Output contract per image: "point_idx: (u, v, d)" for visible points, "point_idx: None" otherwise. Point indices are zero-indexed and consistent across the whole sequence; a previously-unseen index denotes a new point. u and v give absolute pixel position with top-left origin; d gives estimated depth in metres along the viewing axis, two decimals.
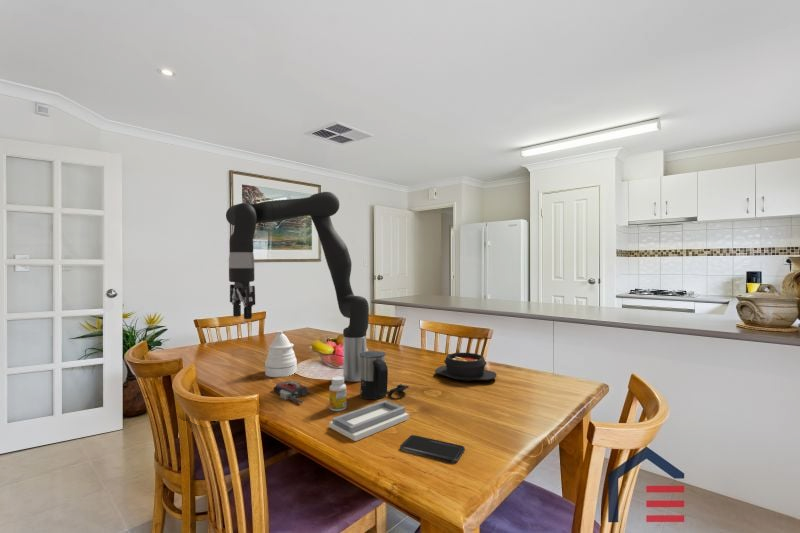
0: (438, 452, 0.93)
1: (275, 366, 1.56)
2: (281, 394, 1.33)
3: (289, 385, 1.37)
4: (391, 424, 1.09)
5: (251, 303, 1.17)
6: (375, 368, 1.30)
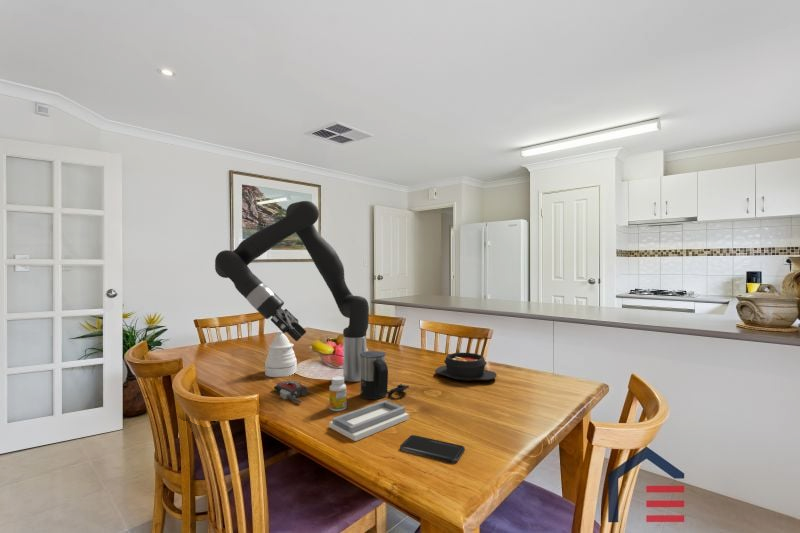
0: (438, 452, 0.93)
1: (275, 366, 1.56)
2: (281, 394, 1.33)
3: (289, 385, 1.38)
4: (391, 424, 1.09)
5: (285, 329, 1.15)
6: (375, 368, 1.30)
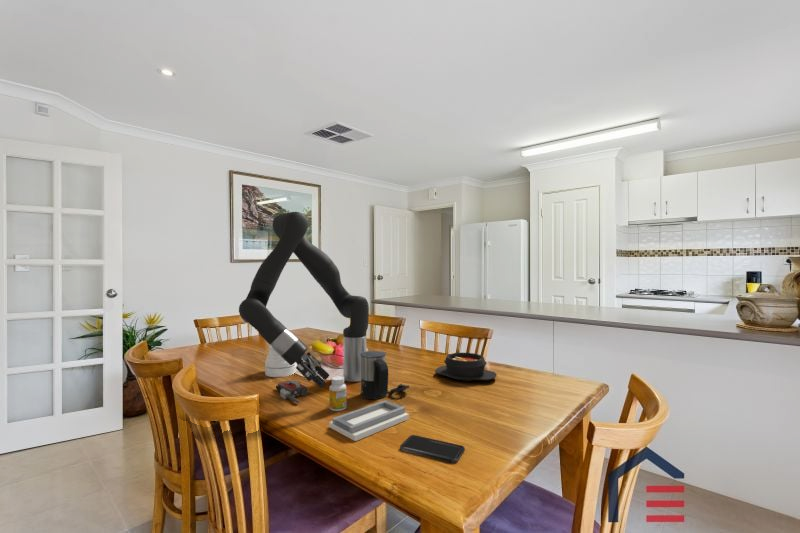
0: (438, 452, 0.93)
1: (275, 366, 1.56)
2: (281, 393, 1.33)
3: (290, 384, 1.38)
4: (391, 424, 1.09)
5: (311, 377, 1.15)
6: (376, 368, 1.30)
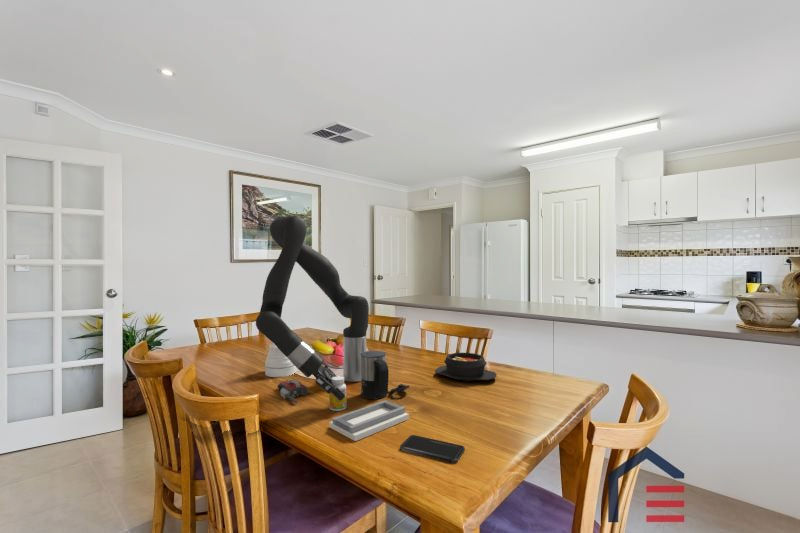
0: (438, 452, 0.93)
1: (275, 366, 1.56)
2: (281, 392, 1.34)
3: (291, 384, 1.38)
4: (391, 424, 1.09)
5: (331, 390, 1.17)
6: (376, 368, 1.30)
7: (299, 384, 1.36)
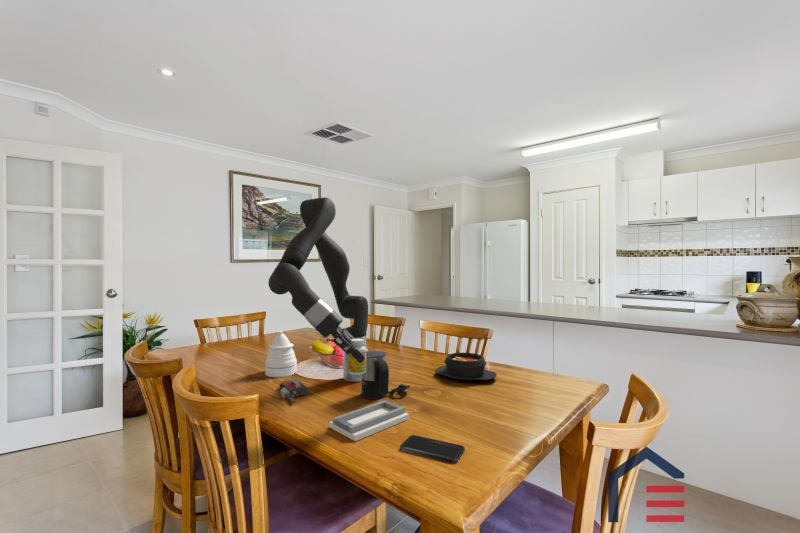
0: (438, 452, 0.93)
1: (275, 366, 1.56)
2: (281, 392, 1.34)
3: (292, 384, 1.39)
4: (391, 424, 1.09)
5: (350, 351, 1.08)
6: (376, 368, 1.31)
7: (299, 384, 1.36)
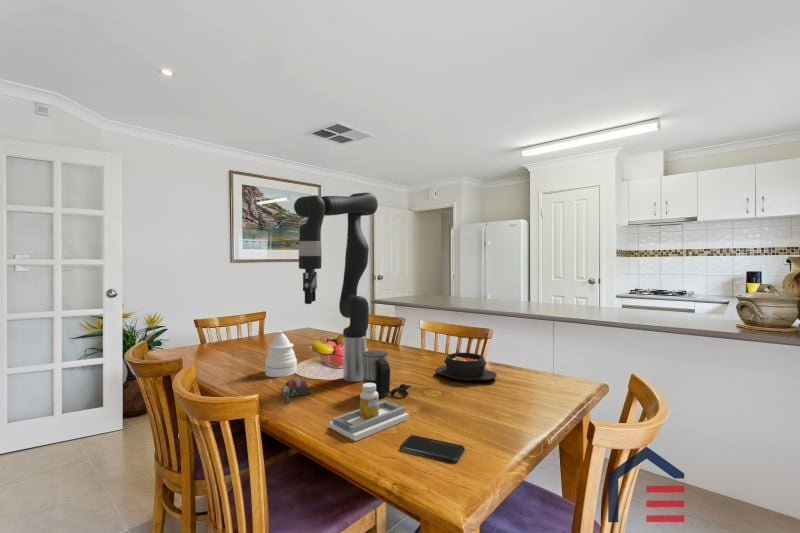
0: (438, 452, 0.93)
1: (275, 366, 1.56)
2: (283, 390, 1.36)
3: (295, 382, 1.40)
4: (391, 424, 1.09)
5: (306, 289, 1.23)
6: (377, 367, 1.31)
7: (300, 383, 1.36)
